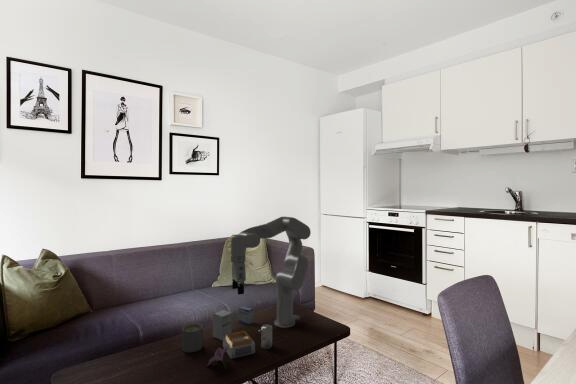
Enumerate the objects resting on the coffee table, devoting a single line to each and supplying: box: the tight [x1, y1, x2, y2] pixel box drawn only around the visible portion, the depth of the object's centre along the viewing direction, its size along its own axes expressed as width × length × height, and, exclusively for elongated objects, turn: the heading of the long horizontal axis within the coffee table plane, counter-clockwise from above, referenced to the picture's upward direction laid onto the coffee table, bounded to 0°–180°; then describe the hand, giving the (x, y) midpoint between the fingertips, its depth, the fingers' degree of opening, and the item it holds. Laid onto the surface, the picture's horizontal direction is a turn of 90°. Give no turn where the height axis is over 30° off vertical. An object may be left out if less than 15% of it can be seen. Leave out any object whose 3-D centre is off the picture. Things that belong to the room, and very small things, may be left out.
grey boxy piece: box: [222, 330, 256, 360], centre depth 163 cm, size 12×14×6 cm
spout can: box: [257, 324, 273, 350], centre depth 167 cm, size 8×6×10 cm
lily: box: [206, 345, 229, 369], centre depth 148 cm, size 12×12×10 cm
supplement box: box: [212, 309, 233, 341], centre depth 178 cm, size 7×7×13 cm
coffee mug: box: [181, 323, 204, 353], centre depth 167 cm, size 13×10×10 cm
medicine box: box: [238, 305, 254, 326], centre depth 197 cm, size 8×4×9 cm, turn 62°
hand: (238, 291), depth 171 cm, fingers open, 9 cm apart
